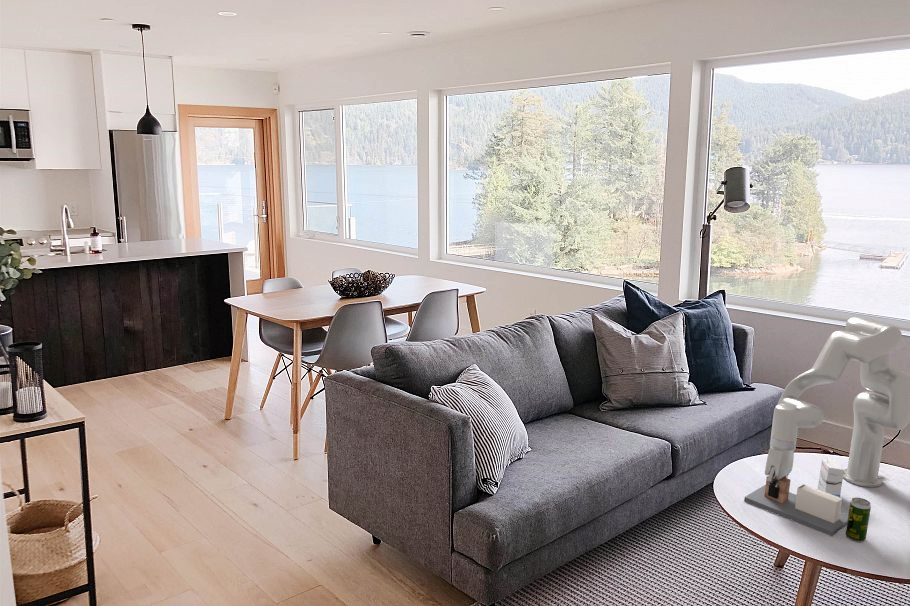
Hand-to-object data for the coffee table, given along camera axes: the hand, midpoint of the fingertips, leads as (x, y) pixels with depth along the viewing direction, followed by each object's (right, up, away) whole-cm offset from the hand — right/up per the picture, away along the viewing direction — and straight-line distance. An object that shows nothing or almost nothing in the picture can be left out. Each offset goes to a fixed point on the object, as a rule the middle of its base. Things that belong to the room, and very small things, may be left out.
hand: (776, 494), depth 241 cm
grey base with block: (+5, -4, -5) cm, 8 cm away
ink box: (+20, -2, +5) cm, 20 cm away
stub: (0, -1, 0) cm, 1 cm away
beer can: (+15, -8, -20) cm, 26 cm away
